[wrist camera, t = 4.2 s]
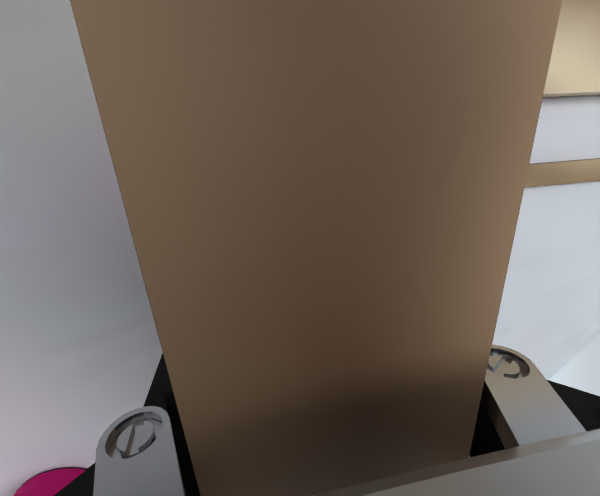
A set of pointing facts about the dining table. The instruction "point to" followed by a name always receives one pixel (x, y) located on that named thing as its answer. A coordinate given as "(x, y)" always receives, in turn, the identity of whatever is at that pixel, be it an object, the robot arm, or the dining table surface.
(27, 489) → the pepper mill
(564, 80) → the board
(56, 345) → the dining table surface
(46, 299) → the dining table surface
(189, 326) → the brown wooden block
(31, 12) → the dining table surface
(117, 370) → the dining table surface
